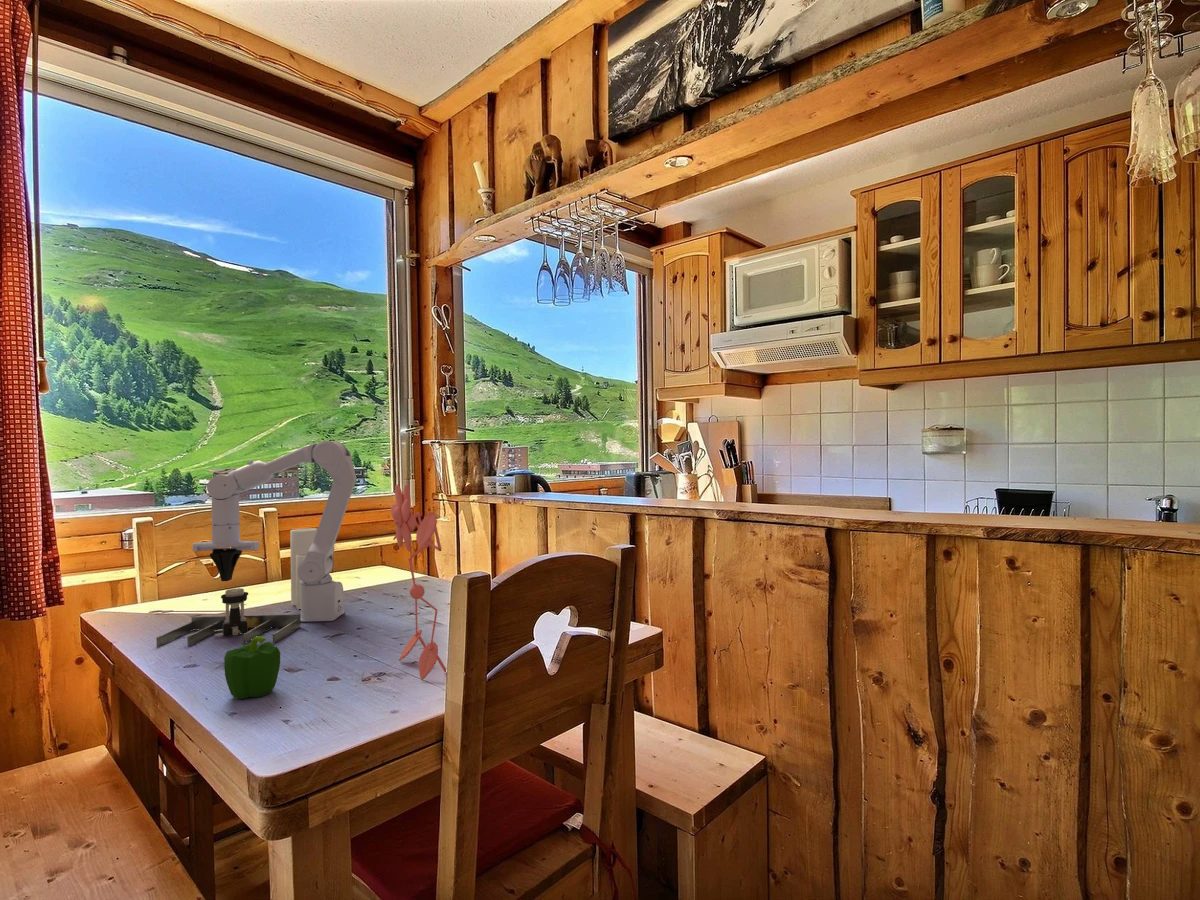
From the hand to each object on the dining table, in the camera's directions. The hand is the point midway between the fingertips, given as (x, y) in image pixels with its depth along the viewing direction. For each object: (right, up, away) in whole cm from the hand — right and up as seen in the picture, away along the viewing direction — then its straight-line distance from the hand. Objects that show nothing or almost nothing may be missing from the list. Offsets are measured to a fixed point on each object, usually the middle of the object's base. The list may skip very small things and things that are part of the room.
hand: (226, 580), depth 147 cm
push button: (+7, -11, -9) cm, 16 cm away
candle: (+11, -11, +18) cm, 23 cm away
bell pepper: (+31, -10, -44) cm, 55 cm away
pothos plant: (+54, -10, -34) cm, 65 cm away
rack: (+8, -10, -11) cm, 17 cm away
